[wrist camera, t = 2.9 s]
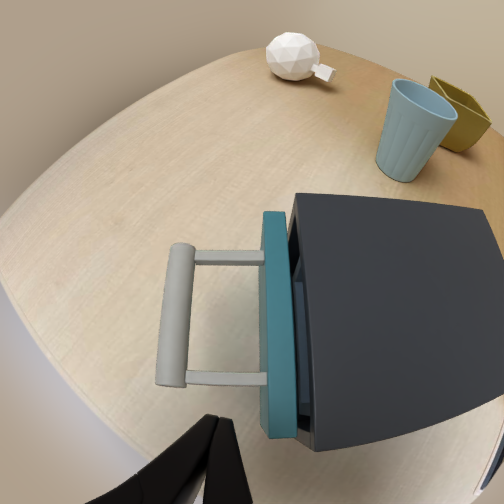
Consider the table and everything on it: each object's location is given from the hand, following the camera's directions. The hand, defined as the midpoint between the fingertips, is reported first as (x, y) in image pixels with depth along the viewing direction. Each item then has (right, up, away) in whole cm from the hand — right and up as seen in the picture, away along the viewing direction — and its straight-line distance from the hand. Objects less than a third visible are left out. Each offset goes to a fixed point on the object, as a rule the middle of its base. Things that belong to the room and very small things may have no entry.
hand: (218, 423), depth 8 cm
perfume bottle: (+8, +34, +33) cm, 48 cm away
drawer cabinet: (+11, -1, +12) cm, 16 cm away
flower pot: (+31, +23, +27) cm, 48 cm away
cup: (+18, +16, +22) cm, 33 cm away
